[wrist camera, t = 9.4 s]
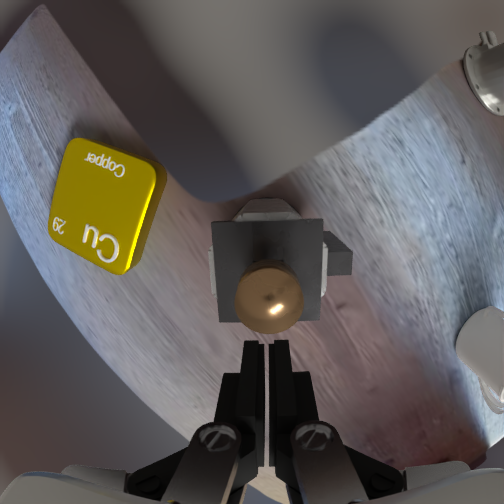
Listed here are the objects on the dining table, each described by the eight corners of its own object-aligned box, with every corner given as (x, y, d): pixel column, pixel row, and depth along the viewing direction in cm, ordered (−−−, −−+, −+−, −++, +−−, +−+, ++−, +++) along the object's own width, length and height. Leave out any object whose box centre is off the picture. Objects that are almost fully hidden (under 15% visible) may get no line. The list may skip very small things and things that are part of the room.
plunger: (235, 214, 29) (207, 249, 15) (298, 212, 29) (328, 247, 15) (238, 275, 31) (217, 351, 17) (298, 273, 31) (322, 348, 17)
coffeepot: (497, 259, 34) (572, 299, 16) (487, 365, 40) (531, 417, 22) (454, 281, 36) (531, 338, 17) (448, 388, 41) (489, 450, 23)
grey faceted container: (228, 198, 34) (202, 214, 20) (323, 196, 34) (362, 211, 20) (232, 271, 37) (212, 328, 23) (322, 268, 36) (354, 324, 22)
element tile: (173, 168, 34) (159, 167, 29) (138, 270, 38) (123, 282, 33) (86, 136, 33) (67, 133, 28) (61, 230, 37) (42, 237, 32)
